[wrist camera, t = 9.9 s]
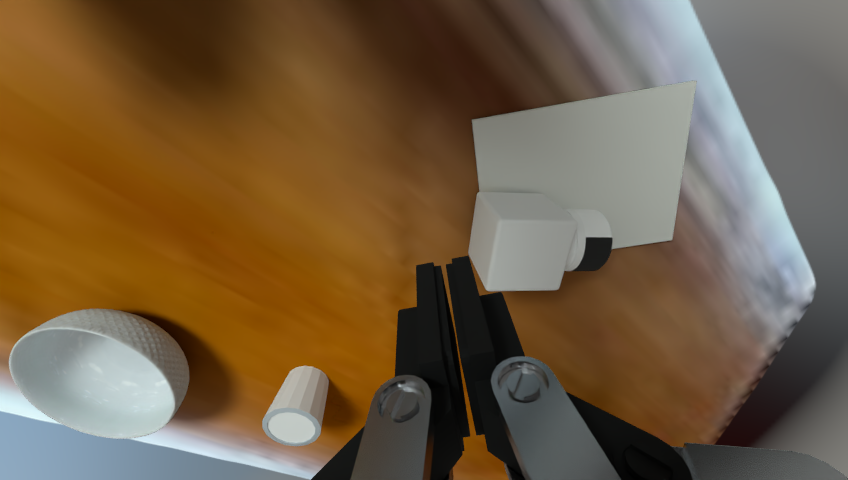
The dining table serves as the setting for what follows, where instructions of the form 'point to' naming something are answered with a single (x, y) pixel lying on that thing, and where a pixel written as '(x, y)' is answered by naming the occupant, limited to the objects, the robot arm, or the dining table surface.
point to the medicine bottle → (534, 241)
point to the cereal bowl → (102, 372)
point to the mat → (596, 157)
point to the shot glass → (298, 407)
